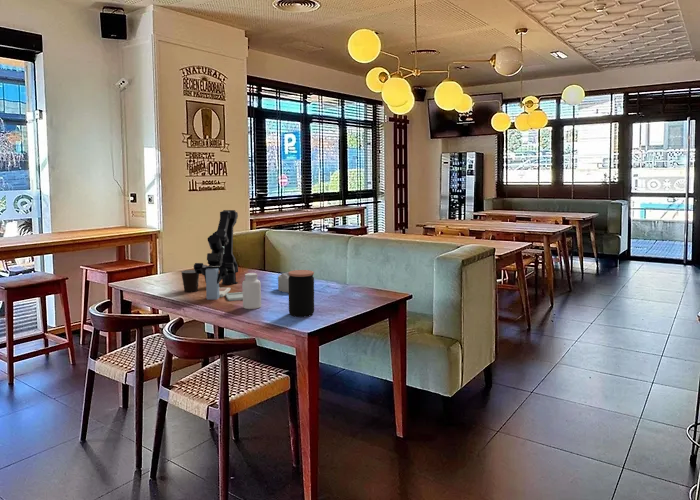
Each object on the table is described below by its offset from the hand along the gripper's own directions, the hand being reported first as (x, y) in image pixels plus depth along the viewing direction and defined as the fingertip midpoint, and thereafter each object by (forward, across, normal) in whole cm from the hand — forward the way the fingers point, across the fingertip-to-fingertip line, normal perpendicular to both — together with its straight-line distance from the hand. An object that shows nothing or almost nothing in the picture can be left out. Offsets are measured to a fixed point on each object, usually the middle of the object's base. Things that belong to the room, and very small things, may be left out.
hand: (211, 283), depth 261 cm
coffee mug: (-8, -15, +19) cm, 25 cm away
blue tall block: (+4, 0, +6) cm, 8 cm away
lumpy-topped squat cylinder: (-9, +34, +20) cm, 41 cm away
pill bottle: (+17, +22, -6) cm, 28 cm away
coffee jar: (+25, +45, -14) cm, 53 cm away
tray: (+3, +12, +8) cm, 15 cm away
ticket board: (-4, 0, +14) cm, 15 cm away
